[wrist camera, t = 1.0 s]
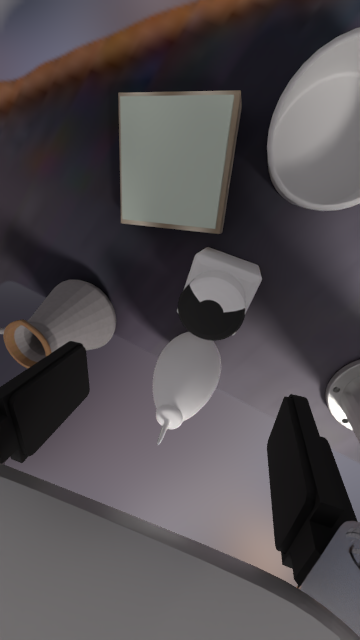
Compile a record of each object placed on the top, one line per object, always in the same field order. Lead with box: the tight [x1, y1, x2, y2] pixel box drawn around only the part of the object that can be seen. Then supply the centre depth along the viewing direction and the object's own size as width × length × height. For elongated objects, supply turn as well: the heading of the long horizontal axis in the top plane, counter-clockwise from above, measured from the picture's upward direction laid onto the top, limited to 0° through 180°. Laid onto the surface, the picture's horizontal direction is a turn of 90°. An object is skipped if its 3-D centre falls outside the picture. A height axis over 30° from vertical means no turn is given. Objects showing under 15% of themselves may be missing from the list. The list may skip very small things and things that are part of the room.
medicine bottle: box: [177, 247, 262, 340], centre depth 25 cm, size 7×7×12 cm
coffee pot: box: [0, 280, 116, 368], centre depth 32 cm, size 21×12×15 cm, turn 84°
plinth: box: [118, 90, 242, 234], centre depth 25 cm, size 12×12×4 cm
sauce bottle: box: [153, 332, 221, 445], centre depth 27 cm, size 8×8×18 cm
